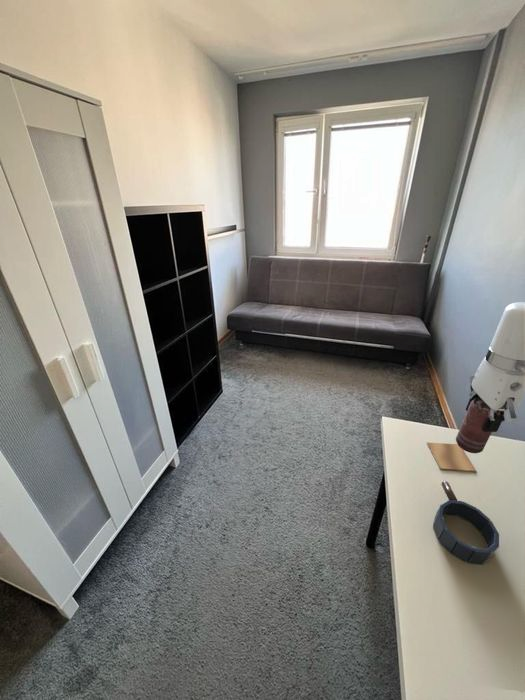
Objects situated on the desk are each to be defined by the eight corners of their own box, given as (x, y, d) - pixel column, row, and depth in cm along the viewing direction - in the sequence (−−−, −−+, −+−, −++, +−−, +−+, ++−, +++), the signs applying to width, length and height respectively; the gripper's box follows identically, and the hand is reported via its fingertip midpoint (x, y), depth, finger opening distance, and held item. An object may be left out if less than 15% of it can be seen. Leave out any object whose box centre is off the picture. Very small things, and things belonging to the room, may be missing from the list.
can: (460, 453, 72) (478, 412, 65) (451, 435, 77) (467, 395, 70) (487, 456, 71) (509, 415, 64) (476, 438, 76) (495, 397, 69)
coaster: (459, 445, 90) (459, 444, 90) (476, 471, 82) (476, 471, 82) (426, 443, 92) (427, 442, 91) (439, 469, 83) (440, 468, 83)
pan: (462, 492, 76) (468, 481, 74) (502, 567, 61) (511, 555, 59) (417, 489, 78) (422, 477, 75) (446, 560, 63) (452, 549, 60)
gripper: (559, 382, 53) (521, 448, 62) (500, 341, 68) (476, 398, 77) (516, 382, 54) (484, 447, 63) (467, 341, 69) (447, 398, 78)
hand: (480, 420), depth 70 cm, fingers closed on can, 6 cm apart
